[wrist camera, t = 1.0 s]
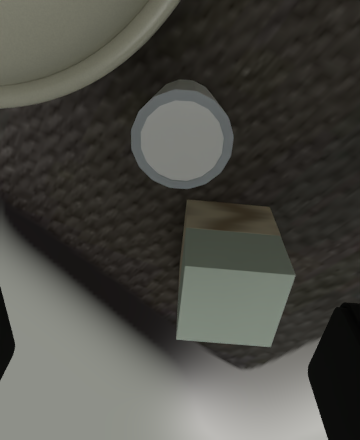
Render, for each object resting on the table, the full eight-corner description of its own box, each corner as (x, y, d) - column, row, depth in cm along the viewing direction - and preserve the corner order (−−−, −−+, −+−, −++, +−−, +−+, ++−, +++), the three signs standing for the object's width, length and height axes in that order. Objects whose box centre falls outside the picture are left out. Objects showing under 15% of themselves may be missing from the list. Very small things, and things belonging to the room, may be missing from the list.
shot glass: (191, 168, 31) (190, 206, 25) (127, 122, 29) (110, 152, 23) (242, 107, 28) (256, 134, 22) (175, 50, 26) (170, 64, 20)
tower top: (280, 235, 29) (295, 275, 25) (260, 303, 33) (270, 347, 29) (185, 227, 29) (185, 265, 25) (178, 296, 33) (176, 339, 29)
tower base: (269, 206, 33) (280, 235, 29) (252, 269, 37) (260, 303, 33) (187, 198, 33) (186, 227, 29) (179, 263, 37) (178, 296, 33)
